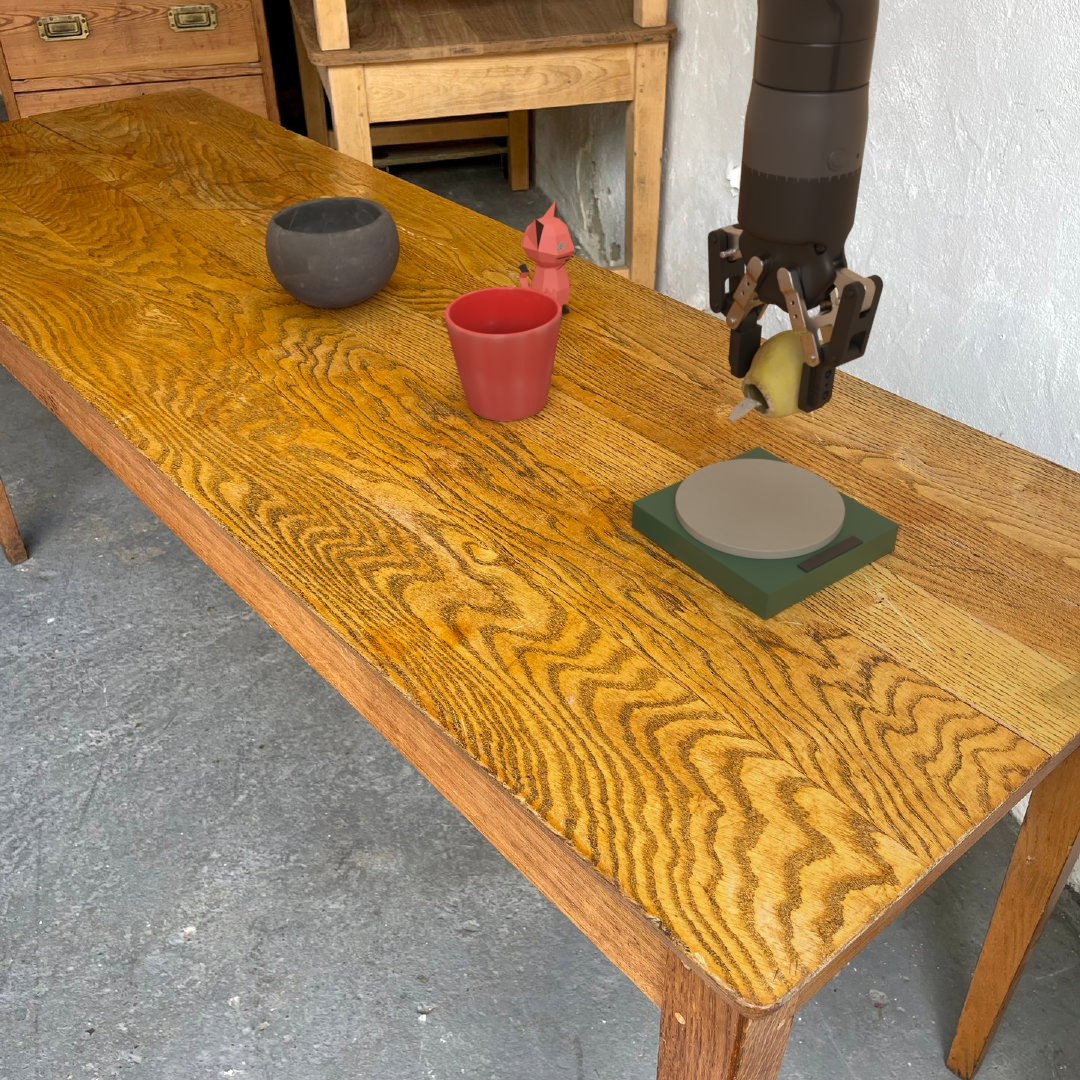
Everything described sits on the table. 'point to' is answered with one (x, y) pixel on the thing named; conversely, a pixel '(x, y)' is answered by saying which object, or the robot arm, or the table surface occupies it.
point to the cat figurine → (548, 256)
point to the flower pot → (504, 349)
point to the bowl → (332, 250)
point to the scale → (764, 529)
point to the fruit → (773, 378)
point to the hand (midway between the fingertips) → (776, 390)
